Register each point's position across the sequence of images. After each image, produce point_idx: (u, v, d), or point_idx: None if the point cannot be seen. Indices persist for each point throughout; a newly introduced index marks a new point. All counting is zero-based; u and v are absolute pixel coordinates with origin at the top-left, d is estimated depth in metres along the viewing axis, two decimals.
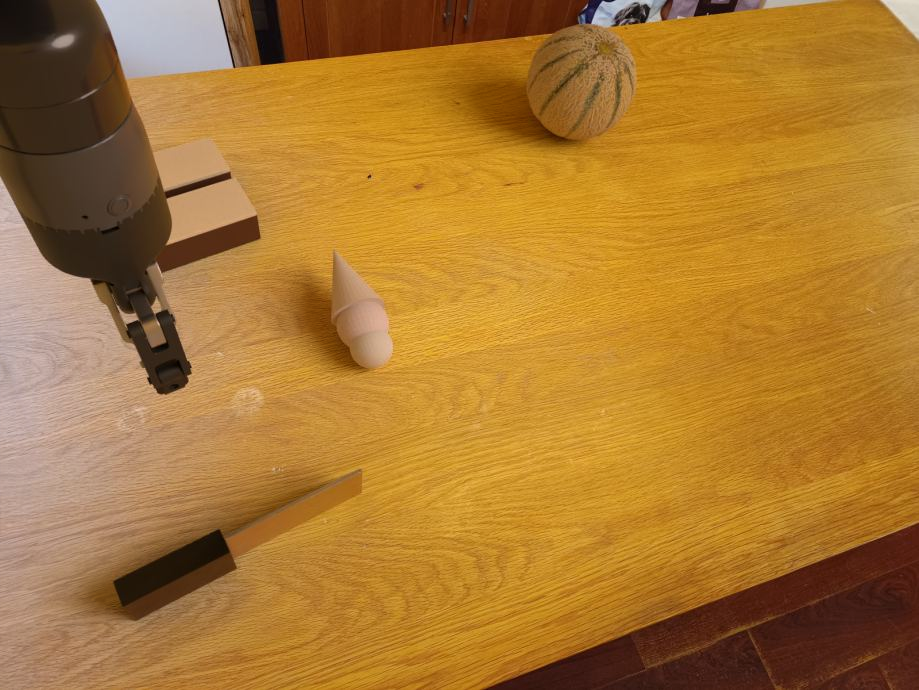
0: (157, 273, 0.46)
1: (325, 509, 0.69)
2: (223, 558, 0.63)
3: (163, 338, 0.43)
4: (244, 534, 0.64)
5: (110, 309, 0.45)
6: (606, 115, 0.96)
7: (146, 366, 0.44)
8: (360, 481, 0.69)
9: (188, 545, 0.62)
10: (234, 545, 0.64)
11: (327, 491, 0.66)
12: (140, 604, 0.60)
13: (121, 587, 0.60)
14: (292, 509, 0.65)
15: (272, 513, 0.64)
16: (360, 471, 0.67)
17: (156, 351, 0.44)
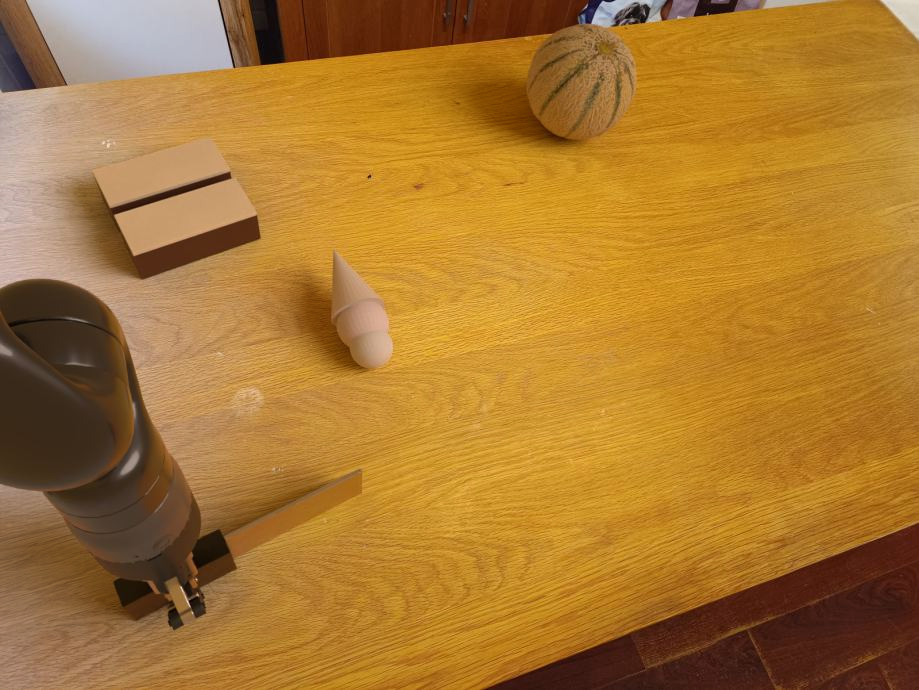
0: (188, 554, 0.56)
1: (325, 509, 0.69)
2: (223, 558, 0.63)
3: None
4: (244, 534, 0.64)
5: (149, 582, 0.56)
6: (606, 115, 0.96)
7: None
8: (360, 481, 0.69)
9: None
10: (234, 545, 0.64)
11: (327, 491, 0.66)
12: (140, 604, 0.60)
13: (121, 587, 0.60)
14: (292, 509, 0.65)
15: (272, 513, 0.64)
16: (360, 471, 0.67)
17: None
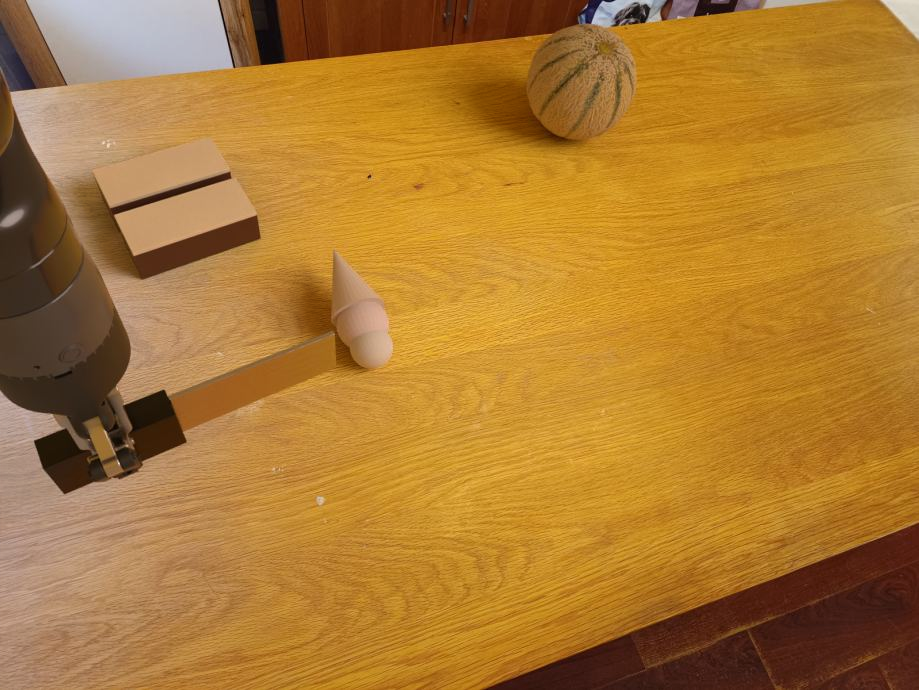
0: (118, 398, 0.47)
1: (293, 382, 0.60)
2: (167, 422, 0.53)
3: (123, 471, 0.46)
4: (193, 397, 0.54)
5: (69, 430, 0.47)
6: (606, 115, 0.96)
7: (102, 481, 0.47)
8: (334, 349, 0.59)
9: (126, 405, 0.53)
10: (182, 411, 0.55)
11: (293, 354, 0.57)
12: (67, 470, 0.51)
13: (43, 447, 0.50)
14: (251, 372, 0.56)
15: (227, 374, 0.55)
16: (332, 333, 0.58)
17: None
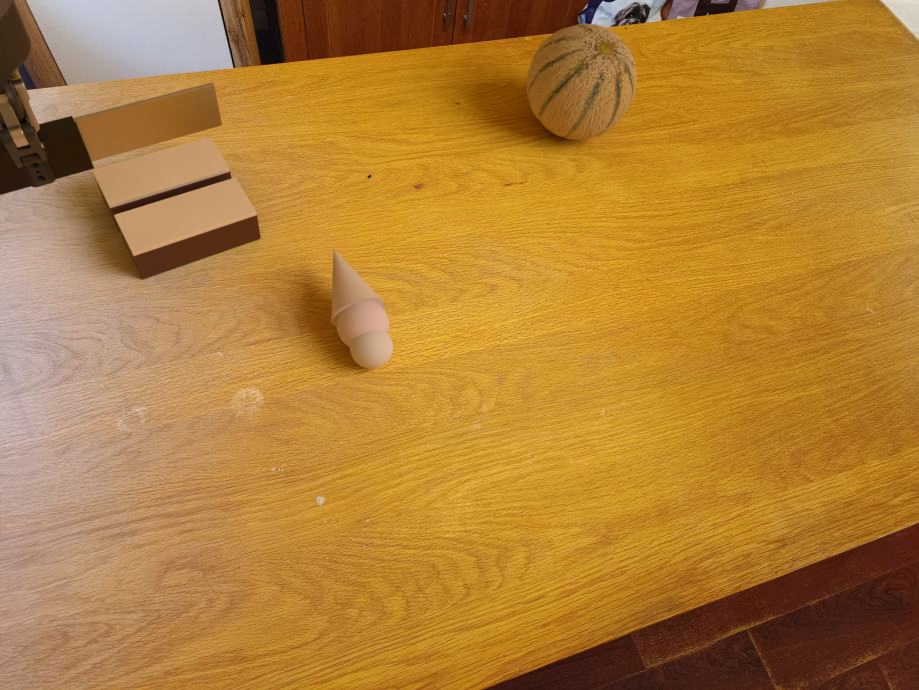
0: (24, 92, 0.61)
1: (184, 131, 0.74)
2: (73, 138, 0.67)
3: (27, 143, 0.60)
4: (96, 123, 0.68)
5: None
6: (606, 115, 0.96)
7: (12, 157, 0.61)
8: (216, 103, 0.73)
9: (40, 124, 0.67)
10: (88, 137, 0.69)
11: (179, 98, 0.71)
12: None
13: None
14: (144, 108, 0.69)
15: (123, 106, 0.68)
16: (212, 84, 0.71)
17: (20, 148, 0.60)
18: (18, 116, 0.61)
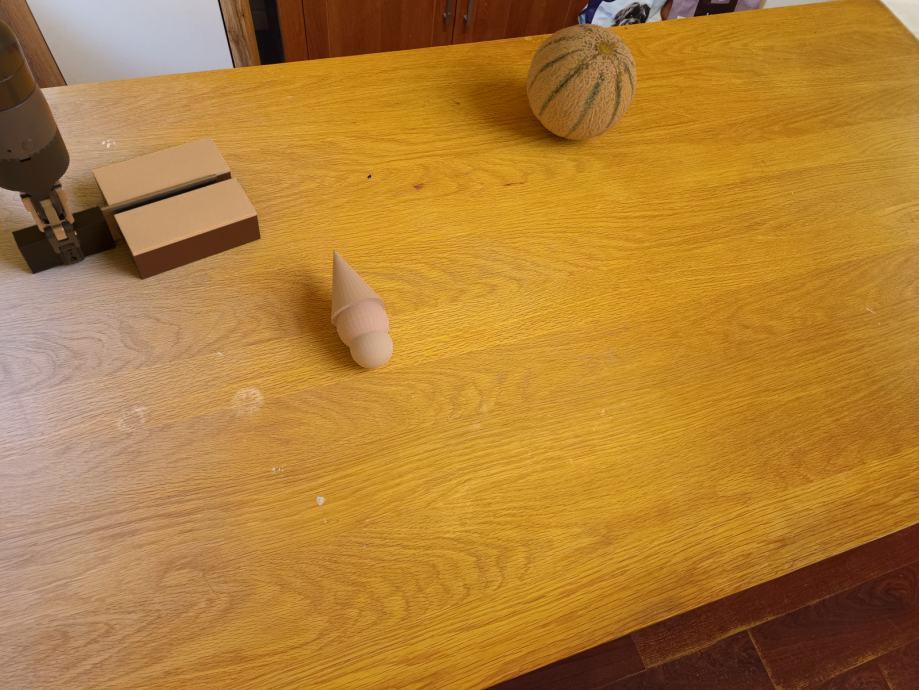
0: (63, 195, 0.75)
1: None
2: (100, 225, 0.81)
3: (66, 236, 0.74)
4: (118, 211, 0.82)
5: (32, 214, 0.74)
6: (606, 115, 0.96)
7: (53, 247, 0.75)
8: None
9: (73, 214, 0.81)
10: (111, 222, 0.83)
11: (187, 187, 0.85)
12: (33, 252, 0.79)
13: (18, 235, 0.78)
14: (158, 197, 0.84)
15: (141, 196, 0.82)
16: (215, 175, 0.86)
17: (60, 241, 0.74)
18: (58, 214, 0.75)
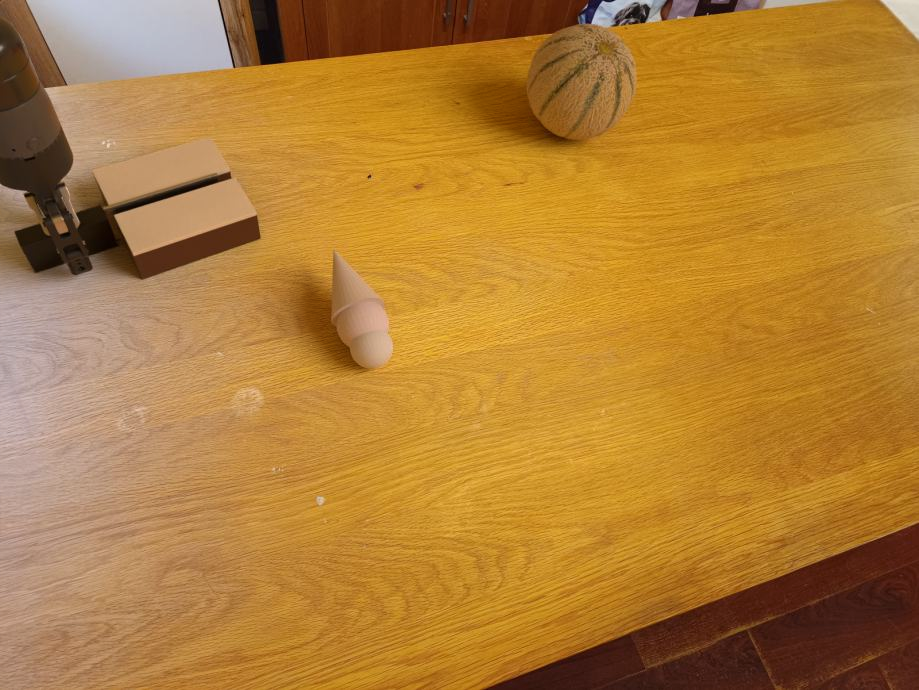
0: (66, 191, 0.75)
1: None
2: (102, 224, 0.81)
3: (66, 228, 0.72)
4: (120, 210, 0.82)
5: (36, 213, 0.74)
6: (606, 115, 0.96)
7: (57, 246, 0.73)
8: None
9: None
10: (113, 221, 0.83)
11: (189, 186, 0.85)
12: (36, 251, 0.79)
13: (20, 234, 0.78)
14: (160, 197, 0.84)
15: (142, 195, 0.83)
16: (216, 174, 0.86)
17: (62, 237, 0.73)
18: None
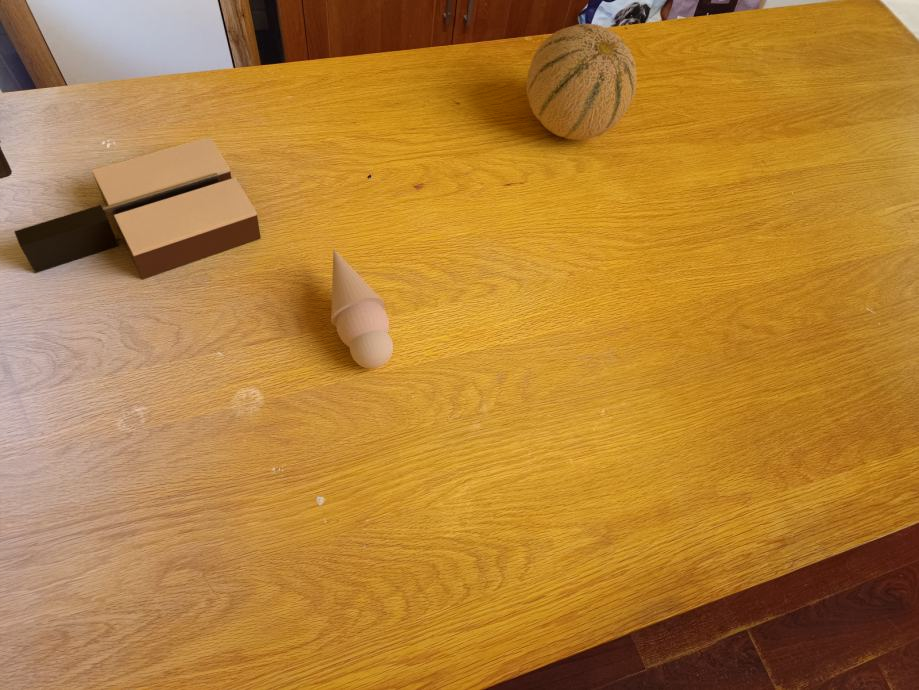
0: None
1: None
2: (102, 224, 0.81)
3: None
4: (120, 210, 0.82)
5: None
6: (606, 115, 0.96)
7: None
8: None
9: (75, 213, 0.81)
10: (113, 221, 0.83)
11: (189, 186, 0.85)
12: (36, 251, 0.79)
13: (20, 234, 0.78)
14: (160, 197, 0.84)
15: (142, 195, 0.83)
16: (216, 174, 0.86)
17: None
18: None
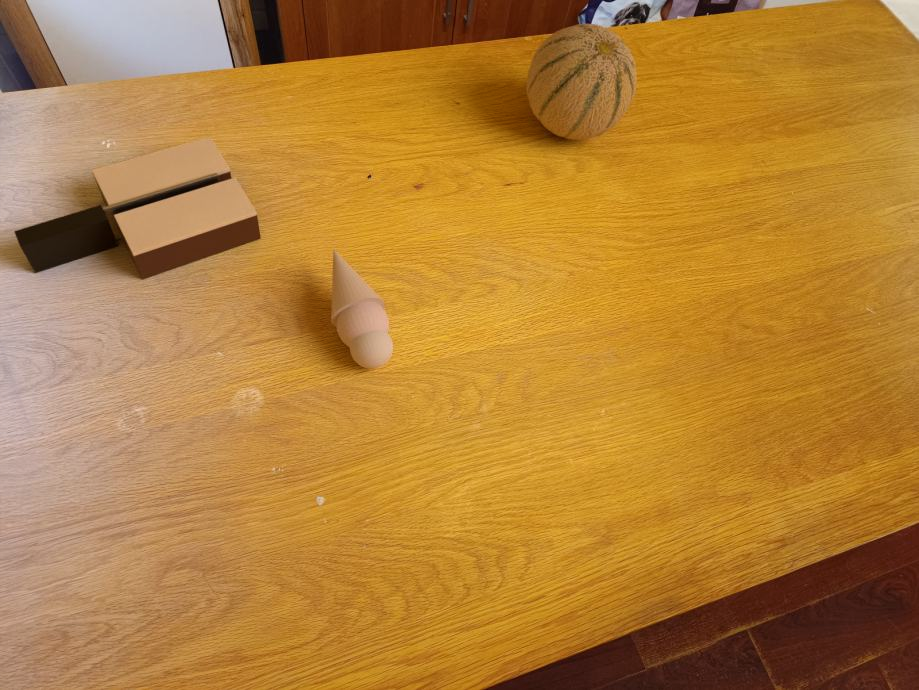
0: None
1: None
2: (102, 224, 0.81)
3: None
4: (120, 210, 0.82)
5: None
6: (606, 115, 0.96)
7: None
8: None
9: (75, 213, 0.81)
10: (113, 221, 0.83)
11: (189, 186, 0.85)
12: (36, 251, 0.79)
13: (20, 234, 0.78)
14: (160, 197, 0.84)
15: (142, 195, 0.83)
16: (216, 174, 0.86)
17: None
18: None
